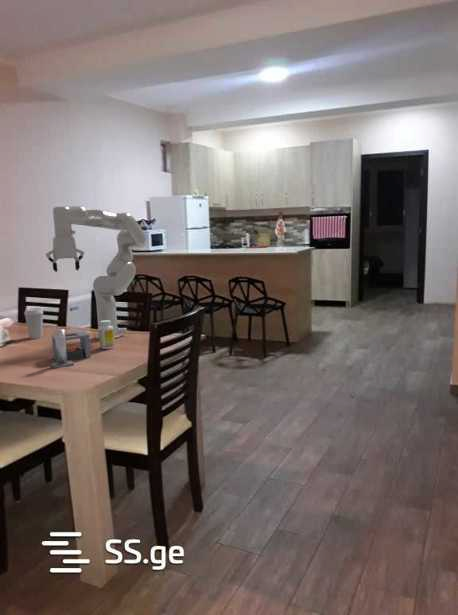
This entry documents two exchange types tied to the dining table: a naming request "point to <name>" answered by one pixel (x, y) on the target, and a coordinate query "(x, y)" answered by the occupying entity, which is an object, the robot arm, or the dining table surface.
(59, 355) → the silver metal cylinder
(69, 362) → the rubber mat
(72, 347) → the button
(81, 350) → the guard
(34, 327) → the coffee cup
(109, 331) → the supplement bottle
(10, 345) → the dining table surface
